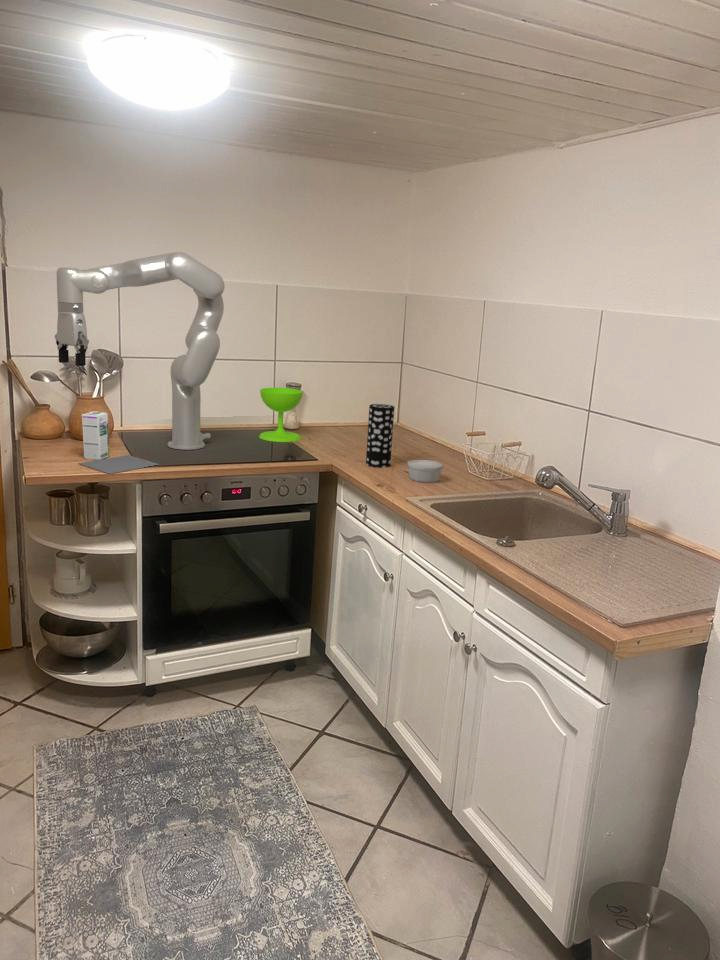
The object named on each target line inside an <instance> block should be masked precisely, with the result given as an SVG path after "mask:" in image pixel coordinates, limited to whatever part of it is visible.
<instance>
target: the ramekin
mask: <svg viewBox="0 0 720 960" xmlns="http://www.w3.org/2000/svg"><path fill="white" fill-rule="evenodd" d="M407 468H408V469H407V470H408V477H409V479H410V480H411V481H413V482H417V483H422V484H423V483H424V484H426V483H427V484H433V483H437V482H438V481H439V480H440V478H441V475H442V470H443V464H442V463H441V462H439V461H436V460H430V459H429V460H427V459H413V460H408V461H407Z"/></svg>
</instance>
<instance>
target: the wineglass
mask: <svg viewBox="0 0 720 960" xmlns="http://www.w3.org/2000/svg"><path fill="white" fill-rule="evenodd" d="M259 391H260V397H261V399H262V402H263V404H265V406H266V407H268V408H269V409H270V410H272V411H275V412H278V413H277V414H278V415H277V416H278V417H277V429H276V430H271V431H263V432H261V433H260V434H259V436H258V437H259V439H261V440H264V441H269V442H278V443H290V442H297V441H300V440H301V439H302V437H301V435H299V433H296V432H292V431H286V430H285V429H284V413H285V412H290V411H291V410H293V409H295V408H296V407H297V406H298V405H299V403H300V402H301V400H302V398H303V391H302V390H301V389H298V388H297V389H296V388H292V387H291V388H290V387H289V388H288V387H265V388H260V390H259Z"/></svg>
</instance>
